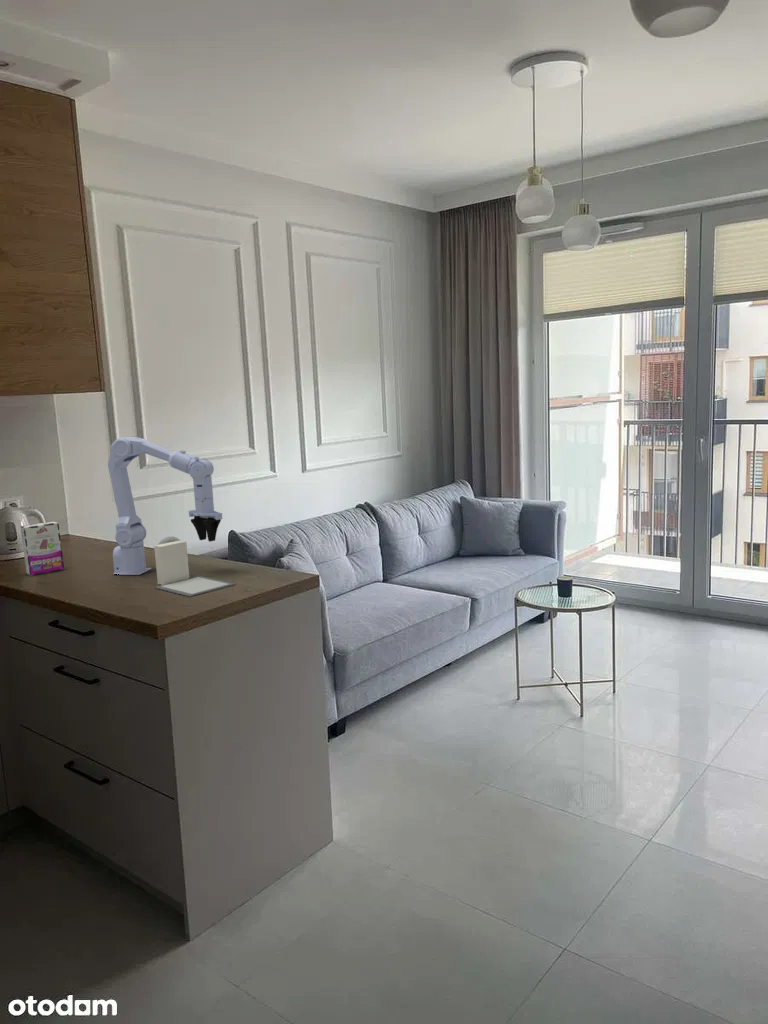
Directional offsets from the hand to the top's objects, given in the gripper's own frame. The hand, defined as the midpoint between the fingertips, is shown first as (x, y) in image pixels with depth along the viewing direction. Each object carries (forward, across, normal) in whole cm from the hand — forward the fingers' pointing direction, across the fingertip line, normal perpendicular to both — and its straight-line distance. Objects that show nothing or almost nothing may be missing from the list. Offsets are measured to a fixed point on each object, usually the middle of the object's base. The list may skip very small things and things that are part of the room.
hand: (207, 540), depth 242 cm
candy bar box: (+11, -52, -28) cm, 60 cm away
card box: (+10, 0, -14) cm, 17 cm away
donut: (+11, -20, 0) cm, 23 cm away
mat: (+10, +11, -14) cm, 21 cm away
